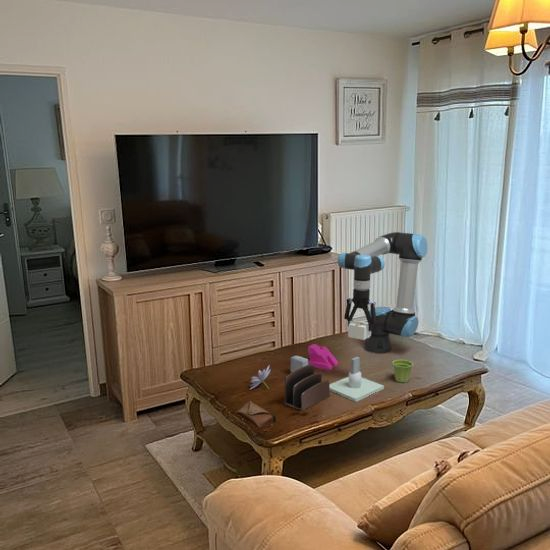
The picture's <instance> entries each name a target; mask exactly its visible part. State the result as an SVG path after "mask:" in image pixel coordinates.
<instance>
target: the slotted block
mask: <svg viewBox="0 0 550 550" xmlns="http://www.w3.org/2000/svg"><path fill="white" fill-rule="evenodd" d="M367 324H368V321H360V320H354V322H352V323H350V324H349V326H348V325H347V327H348V330H347V333H348V334H347V336H348V337H347V338H351V339H357V340H363V341H366V332H367ZM370 336H371V331H370Z"/></svg>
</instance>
